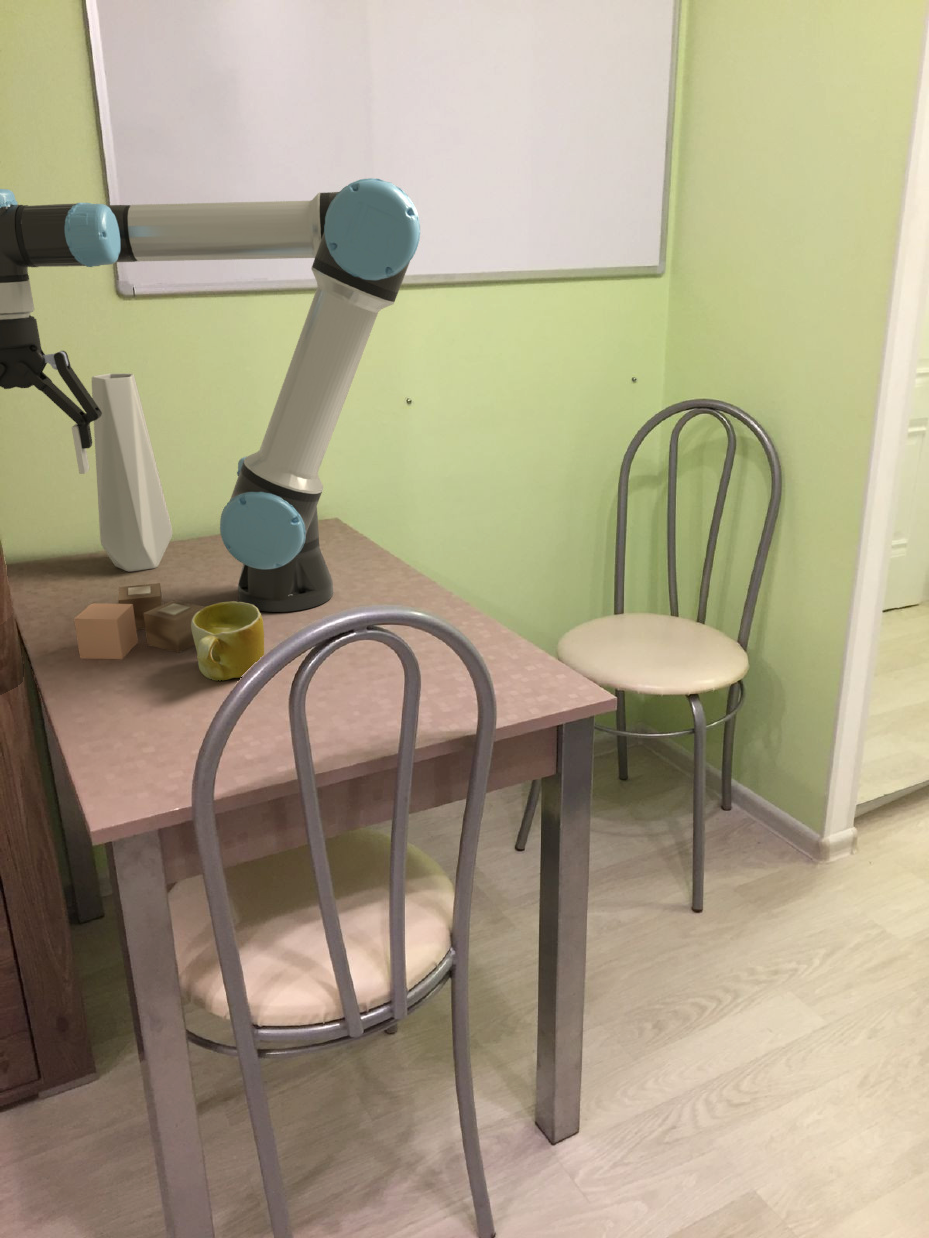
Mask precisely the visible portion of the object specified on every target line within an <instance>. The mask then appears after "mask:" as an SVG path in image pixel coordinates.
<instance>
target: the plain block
mask: <svg viewBox="0 0 929 1238" xmlns="http://www.w3.org/2000/svg"><path fill="white" fill-rule="evenodd" d="M73 622H74V625H75V626H74V627H75V634H76V639H77V646H78V653H79V657H80V659H94V660H95V659H97V660H98V659H100V660H101V659H104V660H105V659H106V660H108V659H109V660H116V659H117V660H123V659H124V658H125V657H126V656H127V655H128V654H129V652H130V651H131V650H133V648H134V647H135V646H136V645H137V644H138V643H139V642H138V641H139V640H138V633H137V630H136V625H135V617H134V610H133V604H119V603H98V602H97V603H90V604H89V605H88V606H86V608H85V609H83V610H82V611H81V612H80V613H79V614H77V615H76V616H75V617H74V618H73Z"/></svg>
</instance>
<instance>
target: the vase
mask: <svg viewBox="0 0 929 1238" xmlns="http://www.w3.org/2000/svg"><path fill="white" fill-rule="evenodd" d="M91 395H92V396H91V397H92V398H93V400H94V401H95V403H96V404H97V406H98V407H99V409H100V410H101V412H102V415H101V417H99V418H98V419H97V420H95V421H93V431H94V433H93V434H94V435H93V436H94V452H95V468H96V469H95V471H96V472H95V473H96V484H97V485H96V486H97V489H96V490H97V500H98V501H97V505H98V522H99V524H98V525H99V535H100V536H99V539H100V545H101V546H102V548H103V549H104V552H105V553H106V554H107V556H108V557H109V560H111V562H112V563H113V565H114V566H115V567H116V568H118V569H121V570H123V571H125V572H130V573H132V572H138V571H145V570H151V569H156V568H158V567H159V566H160V563H161V561H162V559H163V557H164V555H165V552H166V550H167V548H168V546H169V543H170V542H171V539H172V536H173V528H172V523H171V520H170V519H171V518H170V515H169V509H168V507H167V506H168V505H167V502H166V498H165V495H164V489H163V487H162V486H163V485H162V482H161V478H160V473H159V469H158V465H157V462H156V457H155V453H154V449H153V444H152V441H151V437H150V433H149V430H148V429H149V428H148V426H147V425H148V424H147V421H146V417H145V413H144V408H143V405H142V400H141V397H140V392H139V388H138V385H137V381H136V378H135V374H134V373H120V372H117V373H114V372H113V373H104V374H98V375H93V376H92V377H91Z"/></svg>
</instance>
